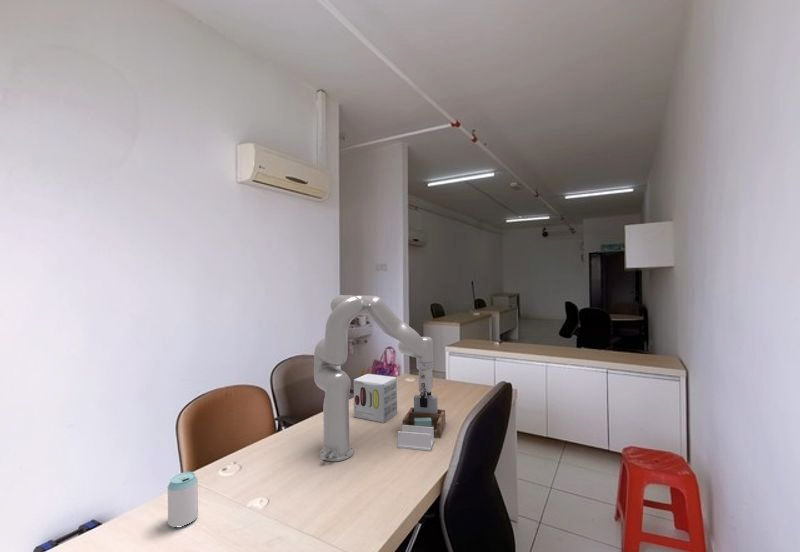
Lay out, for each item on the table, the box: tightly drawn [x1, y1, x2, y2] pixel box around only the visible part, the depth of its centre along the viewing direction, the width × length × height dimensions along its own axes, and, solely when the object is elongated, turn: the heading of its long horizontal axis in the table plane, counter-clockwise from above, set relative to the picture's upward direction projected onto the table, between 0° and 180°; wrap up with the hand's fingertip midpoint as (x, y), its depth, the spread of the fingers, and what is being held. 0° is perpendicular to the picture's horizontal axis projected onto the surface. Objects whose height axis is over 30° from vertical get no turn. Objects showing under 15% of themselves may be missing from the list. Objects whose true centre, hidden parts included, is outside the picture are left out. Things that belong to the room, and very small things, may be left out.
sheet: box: [413, 394, 439, 414], centre depth 161 cm, size 4×10×13 cm, turn 75°
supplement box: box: [353, 373, 398, 424], centre depth 175 cm, size 17×13×18 cm
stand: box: [396, 424, 435, 452], centre depth 143 cm, size 9×13×6 cm
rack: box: [401, 407, 446, 439], centre depth 158 cm, size 16×16×6 cm
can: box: [167, 471, 199, 528], centre depth 99 cm, size 7×7×12 cm
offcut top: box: [414, 418, 432, 427], centre depth 154 cm, size 3×7×3 cm, turn 92°
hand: (425, 403), depth 161 cm, fingers open, 9 cm apart
